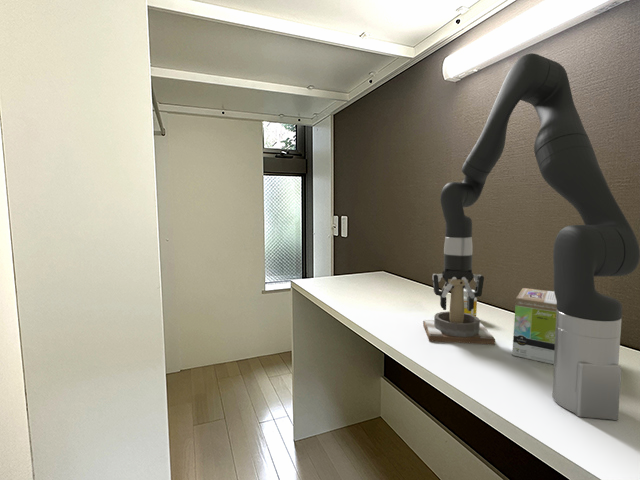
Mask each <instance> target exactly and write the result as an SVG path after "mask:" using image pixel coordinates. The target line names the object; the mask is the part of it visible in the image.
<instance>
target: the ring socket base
mask: <svg viewBox="0 0 640 480" xmlns="http://www.w3.org/2000/svg"><path fill="white" fill-rule="evenodd" d="M449 314H450V313H449V311H440V312H437V313H435V314H434V316H433V317H434V319H424V320H423V321H422V324H423V328H424V331H425V333H426V336H427V339H428V341H429V342H438V343H456V344H459V343H460V344H477V345H478V344H479V345H496V339H495V337H494V336H493V334H491V332H490V331H489V330H488V329H487V328H486V326H484V324H483V323H482V322H480V321H481V320H480V319H479V317H478V316H477V315H476V316H473V315H471V314H467V313H464V320H463V323H453V322H450V315H449Z"/></svg>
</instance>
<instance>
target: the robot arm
mask: <svg viewBox="0 0 640 480" xmlns="http://www.w3.org/2000/svg"><path fill="white" fill-rule="evenodd" d="M520 101H523V102H525V103H528V104H530V105H531V106H532V107H534V110H535V111H536V113H537V116H538V119H539V121H540V128H539V131H538V132H537V135H536V137H535V141H534V145H533V148H534V149H533V151H534V156H535V160H536V163H537V166H538V169H539V173H540V174H541V176H542V178H543V180H544V181H545V182H546V183H547V185H549V186H550V187H551V188H552V189H553V190H554V191H555V192H556V193H558V195H560V196H561V197H562V198H563V199H564V200H566V201H567V202H568V203H569V204H570V205H572V207H573V208H574V209H575V210H576V211H577V212H578V214H579V216H580V217H581V219H582V222H583V223H584V224H573V225H572V224H571V225H567V226H565V227H563V228H562V229H560V230H559V232H558V233H557V234H556V238H555V240H554V243H553V250H552V251H553V252H552V253H553V291H554V293H555V297H556V301H557V310H556V329H555V350H554V364H553V374H552V375H553V379H552V399H553V400H554V402H556V403H557V404H558V405H559V406H560V407H562V408H564V409H566V410H568V411H570V412H572V413H574V414H575V415H576V416H578V417H580V418H589V419H590V418H591V419H599V420H600V419H602V420H603V419H604V420H615V421H618V420H619V414H620V413H619V412H620V411H619V410H620V396H621V383H622V382H621V379H622V378H621V377H622V367H621V365H619V362H620V346H621V334H622V332H621V331H622V318H623V317H622V316H623V306H622V303H621V302H620V300H618V299H616V298H614V297H611V296H609V295H605V294H602V293H600V292H599V291H597V289H596V286H595V277H597V278H598V277H623V276H627V275H630V274H632V273H633V272H634V271H636V269H637V267H638V265H639V263H640V245H639V241H638V238H637V236H636V234H635V231H634V230H633V228H632V226H631V225H630V222H629V221H628V219H627V217H626V216H625V214H624V213H623V211H622V209H621V207H620V205H619V203H618V202H617V200H616V198H615V197H614V195H613V193H612V191H611V189H610V187H609V184H608V182H607V180H606V178H605V176H604V173H603V171H602V170H601V169H602V168H601V167H600V164H599V161H598V158H597V157H596V156H597V155H596V153H595V150H594V147H593V145H592V143H591V140H590V138H589V135H588V133H587V132H586V131H587V130H585V127H584V125H583V122H582V119H581V117H580V114H579V113H578V111H577V108H576V107H577V106H576V105H575V103H574V98H573V94H572V89H571V84H570V81H569V76H568V72H567V70H566V69H565V67H564V66H563V65H562V64H560V63H559V62H557V61H554V60H553V59H550V58H547V57H545V56H542V55H540V54H537V53H527V54H525V55H522V56H521V57H519V59H517V60H516V61H515V62H514V63H513V65H512V66H511V67H510V69H509V71H508V72H507V74H506V76H505V78H504V80H503V82H502V85H501V87H500V89H499V92H498V93H497V96H496V98H495V101H494V103H493V105H492V108H491V110H490V113H489V115H488V117H487V120H486V122H485V124H484V127H483V129H482V131H481V133H480V136H479V137H478V139H477V141H476V143H475V144H474V146H473V147H472V149H471V151H470V153H469V154H468V156H467V157H466V159H465V161H464V162H463V164H462V167H461V172H462V173H463V175H464V178H463V180H462V181H461V182H459V181H450V182H447V183H446V184H445V185H444V186H443V188H442V189H441V193H440V199H439V200H440V205H441V210H442V214H443V217H444V222H445V231H444V234H445V237H444V244H443V247H444V248H443V271H442V272H441V273H432V275H431V276H432V277H431V278H432V285H433V293H434V294H435V295H436V296H439V297H440V301H439V305H440V308H442V310H443V311H446V310H447V295H448V293H449V292H451V288H454V286H453V284H450V282H449V283H448V279H451V281H452V280H456V279H461V280H464V282H465V283H466V284H467V285H466V284H465V285H464V286H463V288H464V289H465V290H466V292H467V294H468V297H467V310H468V311H471V310H472V309H473V308H474V298H475V297H476V298H478V297H481V296H482V293H483V287H484V280H485V277H484V276H483V275H482V274H480V273H479V274H474V273H473V238H472V237H473V221H472V218H471V217H470V216H467V215H466V214H465V211H464V208H469V207H472V206H473V205H474V204H475V203H476V202H477V201H478V200H479V198H480V196H481V194H482V192H483V189H484V187H485V184H486V182H487V181H486V180H487V178H488V176H489V174H490V173H491V172H492V170H493V169H494V167H495V166H496V165H497V163H498V161H499V160H500V158H501V156H502V154H503V152H504V149H505V145H506V136H507V130H508V124H509V122H510V118H511V115H512V113H513V112H514V109H515V108H516V106H517V105H518V104H519V102H520ZM441 279H443V280H444V281H445V283H444V285H443V286H442V288H441V290H440V286H439V283H440V282H441ZM467 280H468V281H467ZM472 280H473V281H474V282H475V288H474V290H475V292H472V290H473V289H472V288H471V286H470V282H471V281H472Z"/></svg>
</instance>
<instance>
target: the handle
mask: <svg viewBox="0 0 640 480" xmlns="http://www.w3.org/2000/svg"><path fill="white" fill-rule="evenodd" d="M467 281H468V280H467ZM449 282H450V284H453V286H454V288H451V289H450V299H449V300H450V302H449V313H450V314H449V315H450V322H453V323H463V320H464V289H465V288H463V286H464V285H465V284H466V283H465V282H464V280H461V279H456V280H452V281H451V279H448V283H449ZM466 285H467V284H466Z"/></svg>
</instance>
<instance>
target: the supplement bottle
mask: <svg viewBox="0 0 640 480" xmlns="http://www.w3.org/2000/svg"><path fill="white" fill-rule="evenodd" d="M472 292H475V289H472ZM467 297H468V294H467V292H466V290H465V288H464V313H467V314H471V315H473V316H476V317H477V311H478V310H477V304H478V297H475V298H474V308H473V309H472V310H471V311H468V310H467Z"/></svg>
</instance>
